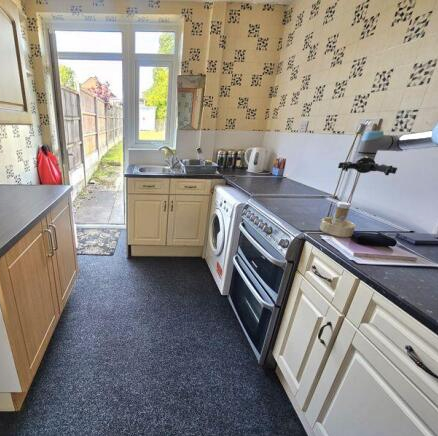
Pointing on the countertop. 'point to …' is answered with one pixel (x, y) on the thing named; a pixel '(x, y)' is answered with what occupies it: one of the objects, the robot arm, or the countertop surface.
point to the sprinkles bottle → (341, 213)
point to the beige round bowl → (337, 228)
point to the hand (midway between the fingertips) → (367, 170)
